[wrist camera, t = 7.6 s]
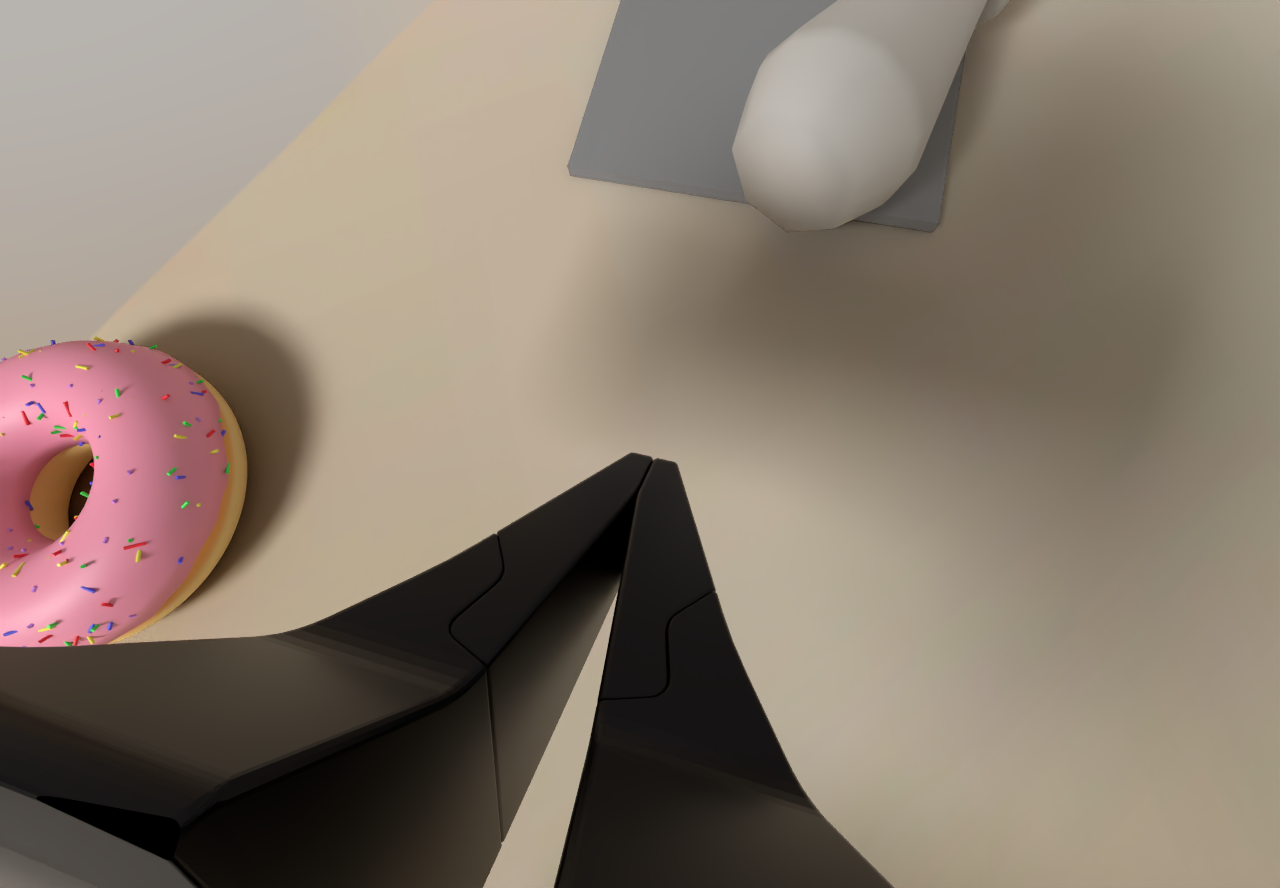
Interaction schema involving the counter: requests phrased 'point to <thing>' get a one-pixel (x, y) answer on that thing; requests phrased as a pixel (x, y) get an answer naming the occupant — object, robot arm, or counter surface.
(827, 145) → the salt shaker
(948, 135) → the mat
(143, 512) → the doughnut
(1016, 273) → the counter surface
